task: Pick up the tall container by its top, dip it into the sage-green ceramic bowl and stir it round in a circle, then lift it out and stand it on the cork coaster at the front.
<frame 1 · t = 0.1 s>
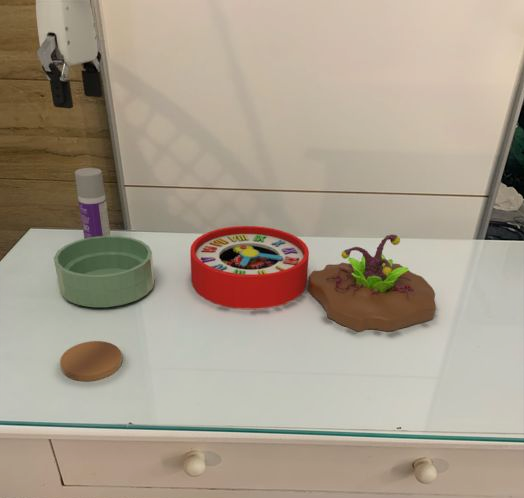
hand: (79, 101, 93), 25 cm above the table, tool pointing down, fingers open, 9 cm apart
coaster: (92, 363, 76), on the table
toy clock: (249, 281, 97), on the table
bowl: (108, 287, 93), on the table
container: (99, 252, 104), on the table
plant: (372, 300, 93), on the table
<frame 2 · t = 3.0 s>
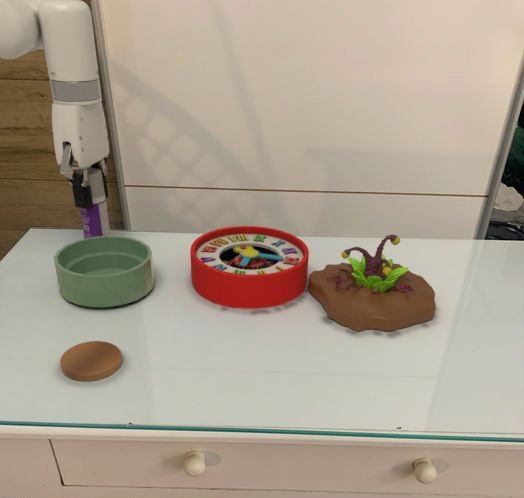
hand: (92, 201, 98), 10 cm above the table, tool pointing down, fingers closed on container, 4 cm apart
container: (99, 252, 104), on the table, touching gripper
everything else where it was.
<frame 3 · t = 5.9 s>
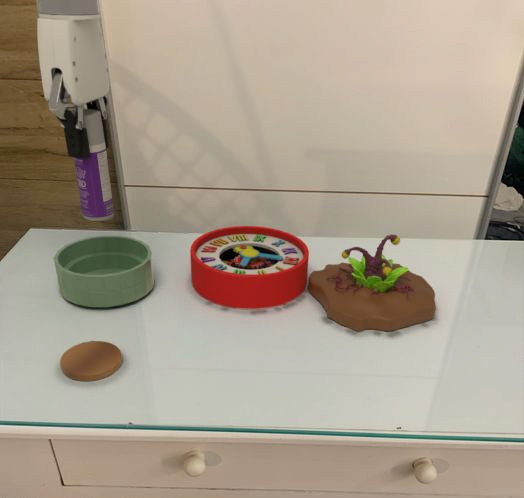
hand: (89, 150, 80), 22 cm above the table, tool pointing down, fingers closed on container, 4 cm apart
container: (98, 216, 86), point 12 cm above the table, touching gripper
everything else where it was.
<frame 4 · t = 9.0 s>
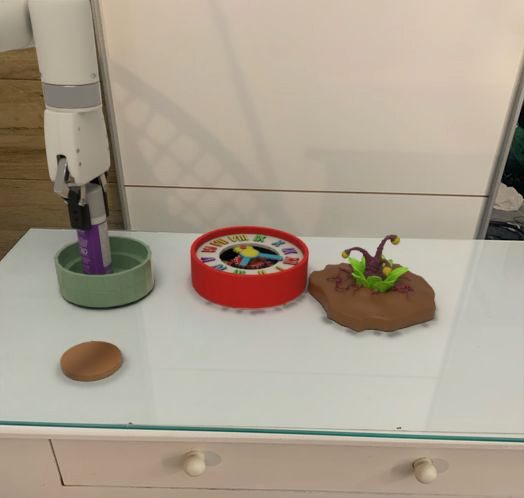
hand: (90, 221, 86), 12 cm above the table, tool pointing down, fingers closed on container, 4 cm apart
container: (99, 278, 92), point 2 cm above the table, touching gripper
everything else where it was.
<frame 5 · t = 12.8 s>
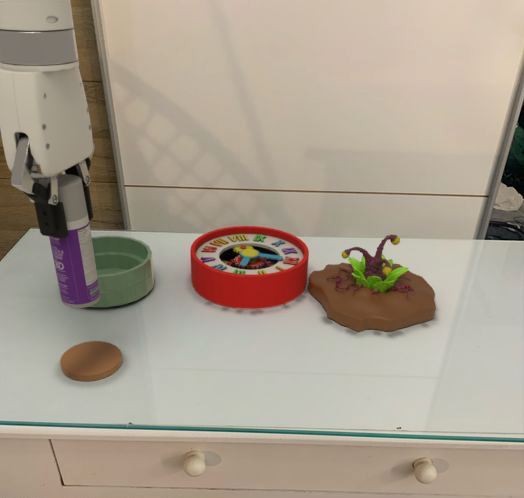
hand: (67, 225, 64), 20 cm above the table, tool pointing down, fingers closed on container, 4 cm apart
container: (81, 300, 70), point 10 cm above the table, touching gripper
everything else where it was.
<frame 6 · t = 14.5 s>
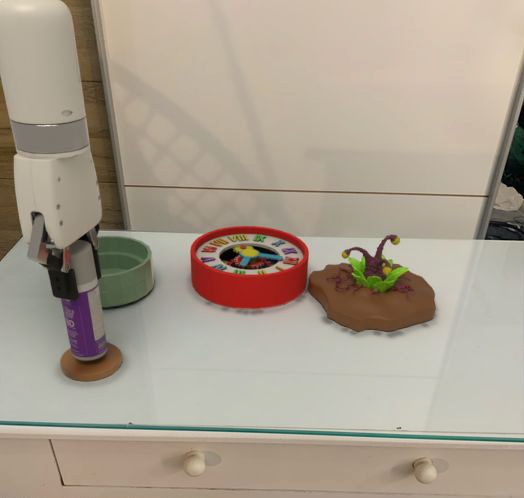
hand: (78, 286, 69), 12 cm above the table, tool pointing down, fingers closed on container, 4 cm apart
container: (90, 351, 74), point 2 cm above the table, touching gripper
everything else where it was.
when the fingers open (11 cm above the table, at t = 15.2 s): container stays where it is, resting on coaster.
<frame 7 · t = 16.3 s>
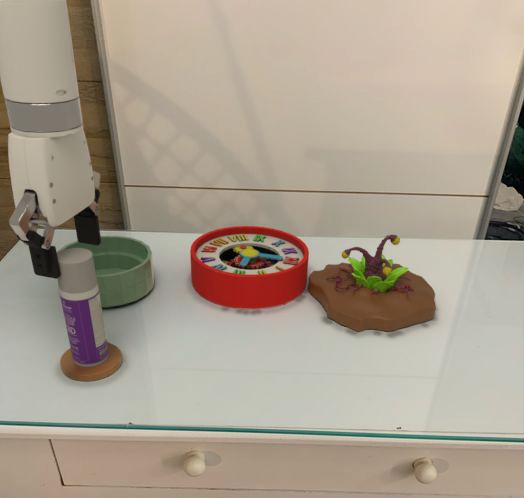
hand: (69, 258, 70), 14 cm above the table, tool pointing down, fingers open, 9 cm apart
container: (91, 358, 75), point 1 cm above the table, touching coaster, gripper
everything else where it was.
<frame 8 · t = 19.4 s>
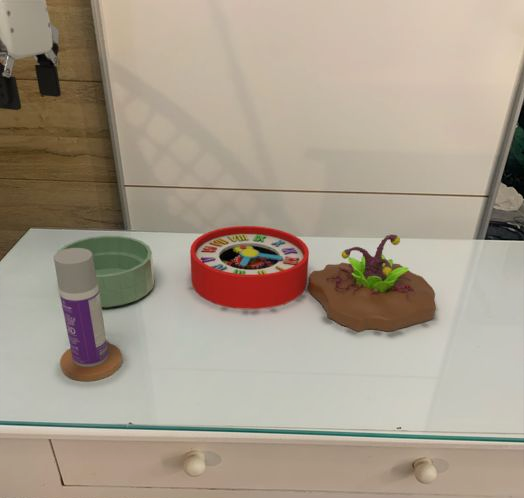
hand: (31, 101, 78), 28 cm above the table, tool pointing down, fingers open, 9 cm apart
container: (91, 358, 75), point 1 cm above the table, touching coaster
everything else where it was.
at the end: container 0.0 cm off-centre on the coaster, point 0.8 cm above the coaster's base; container tilted 0°; the gripper is holding nothing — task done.
